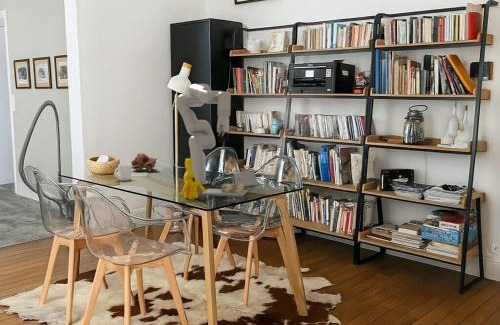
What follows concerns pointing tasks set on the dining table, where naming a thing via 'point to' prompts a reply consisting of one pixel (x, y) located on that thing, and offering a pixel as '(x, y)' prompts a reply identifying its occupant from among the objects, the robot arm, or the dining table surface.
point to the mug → (123, 172)
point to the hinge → (245, 178)
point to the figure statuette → (190, 182)
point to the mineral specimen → (143, 162)
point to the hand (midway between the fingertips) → (223, 141)
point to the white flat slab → (219, 192)
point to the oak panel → (233, 188)
